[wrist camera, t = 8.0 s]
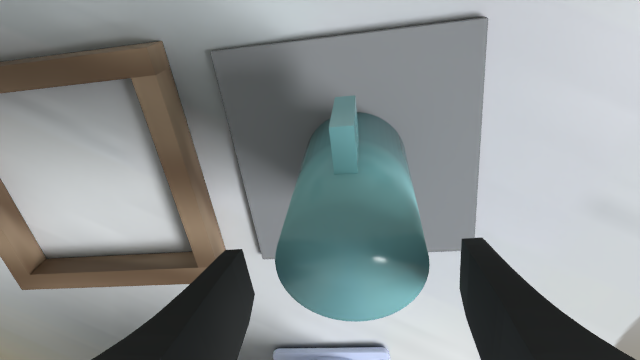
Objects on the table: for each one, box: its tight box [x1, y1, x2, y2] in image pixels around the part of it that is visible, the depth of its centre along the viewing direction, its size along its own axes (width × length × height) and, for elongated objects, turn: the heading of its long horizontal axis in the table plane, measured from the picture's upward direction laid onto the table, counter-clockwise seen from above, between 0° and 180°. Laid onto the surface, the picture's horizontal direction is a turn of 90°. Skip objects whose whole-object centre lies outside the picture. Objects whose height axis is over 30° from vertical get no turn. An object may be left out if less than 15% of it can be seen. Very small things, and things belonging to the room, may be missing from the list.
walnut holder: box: [0, 41, 226, 290], centre depth 22 cm, size 13×13×2 cm
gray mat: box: [210, 17, 488, 259], centre depth 20 cm, size 12×12×1 cm
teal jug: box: [275, 95, 429, 321], centre depth 16 cm, size 7×5×8 cm
